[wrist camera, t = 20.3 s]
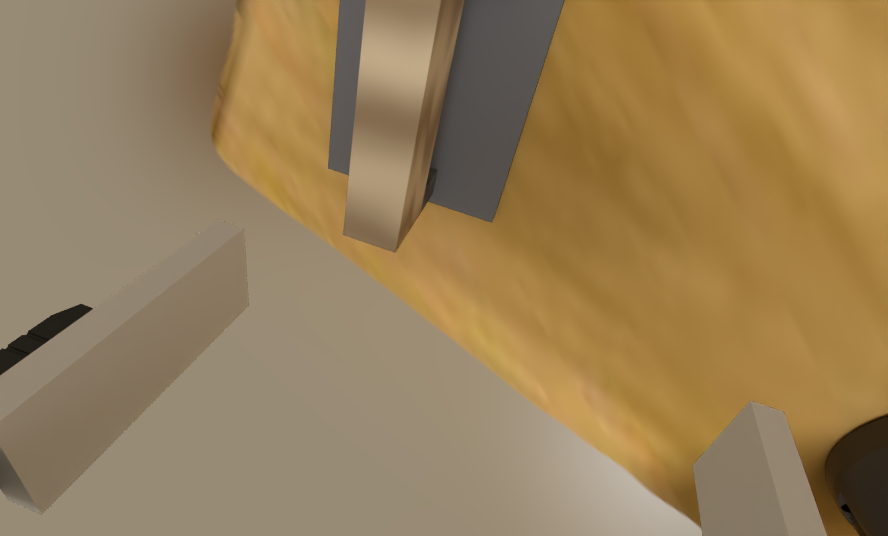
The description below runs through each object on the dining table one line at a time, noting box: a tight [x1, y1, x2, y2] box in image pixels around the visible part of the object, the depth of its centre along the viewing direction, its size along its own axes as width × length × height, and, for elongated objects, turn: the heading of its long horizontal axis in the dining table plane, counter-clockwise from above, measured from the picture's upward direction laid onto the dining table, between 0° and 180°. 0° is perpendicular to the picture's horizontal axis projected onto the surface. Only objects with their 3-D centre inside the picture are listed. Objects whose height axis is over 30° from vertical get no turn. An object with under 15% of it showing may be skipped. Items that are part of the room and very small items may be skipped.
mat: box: [328, 0, 564, 223], centre depth 31 cm, size 20×13×1 cm, turn 168°
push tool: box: [343, 0, 464, 252], centre depth 28 cm, size 16×9×8 cm, turn 168°
